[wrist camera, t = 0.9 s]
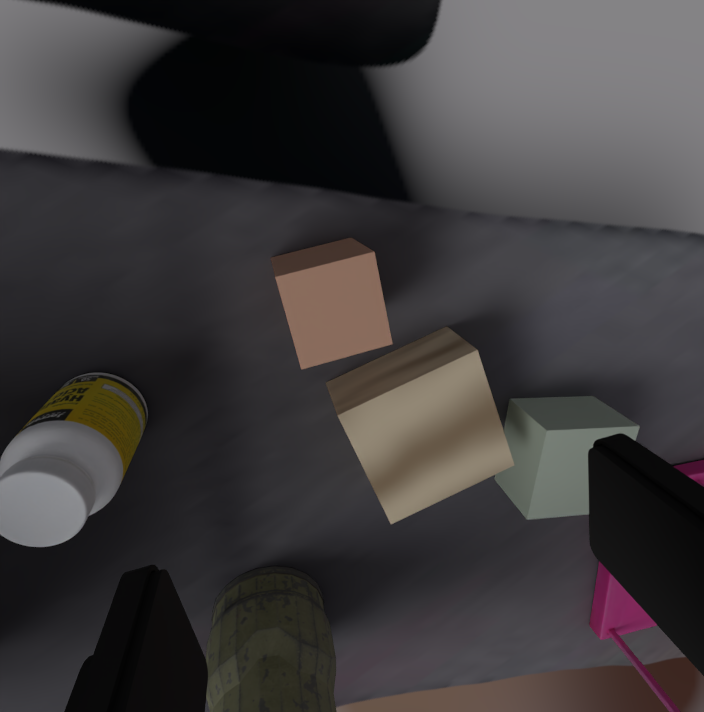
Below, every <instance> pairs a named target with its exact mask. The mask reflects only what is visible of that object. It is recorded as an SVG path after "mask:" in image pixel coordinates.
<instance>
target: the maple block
mask: <svg viewBox="0 0 704 712" xmlns="http://www.w3.org/2000/svg"><path fill="white" fill-rule="evenodd" d="M326 385H327V388H328V391H329V393H330V396H331V399H332V402H333V404H334V407H335V410H336V413H337V415H338V417H339V420H340V422H341V424H342V426H343V428H344V430H345V432H346V434H347V436H348V438H349V440H350V442H351V444H352V446H353V448H354V450H355V452H356V454H357V456H358V458H359V460H360V462H361V464H362V466H363V468H364V470H365V472H366V475H367V477H368V479H369V481H370V483H371V485H372V487H373V489H374V491H375V493H376V495H377V497H378V499H379V501H380V503H381V505H382V507H383V509H384V511H385V513H386V515H387V517H388V519H389V521H390V523H391V524H393V523H395V522H397V521H399V520H401V519H404V518H406V517H408V516H410V515H412V514H414V513H416V512H418V511H420V510H422V509H424V508H426V507H429V506H431V505H433V504H435V503H437V502H439V501H441V500H443V499H445V498H447V497H449V496H451V495H454V494H456V493H458V492H460V491H462V490H464V489H466V488H468V487H470V486H472V485H474V484H477V483H479V482H481V481H483V480H485V479H487V478H489V477H491V476H493V475H495V474H497V473H499V472H502V471H504V470H506V469H508V468H510V467H512V466H514V462H513V458H512V455H511V452H510V449H509V446H508V443H507V440H506V437H505V434H504V431H503V427H502V424H501V421H500V418H499V415H498V412H497V409H496V406H495V403H494V400H493V396H492V393H491V390H490V387H489V384H488V381H487V378H486V375H485V372H484V368H483V365H482V362H481V359H480V356H479V353H478V350H477V349H476V348H474V347H473V346H472V345H471V344H469V343H468V342H467V341H465V340H464V339H463V338H461V337H460V336H459V335H458V334H456V333H455V332H454V331H452V330H451V329H450V328H448V327H447V326H446V327H444V328H442V329H440V330H438V331H436V332H433V333H431V334H429V335H427V336H425V337H423V338H421V339H418V340H416V341H414V342H412V343H410V344H408V345H405V346H403V347H401V348H399V349H397V350H395V351H393V352H390V353H388V354H386V355H384V356H382V357H380V358H378V359H375V360H373V361H371V362H369V363H367V364H365V365H363V366H360V367H358V368H356V369H354V370H352V371H350V372H348V373H345V374H343V375H341V376H339V377H337V378H335V379H332V380H330V381H328V382H326Z"/></svg>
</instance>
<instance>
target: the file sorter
mask: <svg viewBox="0 0 704 712" xmlns="http://www.w3.org/2000/svg"><path fill="white" fill-rule="evenodd" d="M673 467H675V468H676V469H678V470H679V471H681V472H682V473H684V474H685V475H687V476H688V477H690V478H691V479H693V480H694V481H696V482H697V483H699V484H700V485H702V486H703V487H704V460H700V461H695V462H690V463H686V464H681V465H676V466H673ZM656 625H657V624H656V623H655V622H654V621H653V620H652V619H651V617H650V616H649V615H648V614H647V613H646V612H645V611H644V610H643V609H642V608H641V606H640V605H639V604H638V603H637V602H636V601H635V600H634V599H633V598H632V597H631V595H630V594H629V593H628V592H627V591H626V590H625V589H624V588H623V587H622V586H621V585H620V583H619V582H618V581H617V580H616V579H615V578H614V577H613V576H612V575H611V574H610V572H609V571H608V570H607V569H606V568H605V567H604V566H603V565H602V564H601V563H600V561H599V566H598V572H597V578H596V585H595V592H594V599H593V605H592V612H591V618H590V627H591V628H592V629H593V631H594V632H595V633H596V634H597V636H598V637H599V638H600V639H601V640H604V639H607V638H612V639H613V640H614V641H615V643H616V644H617V645H618V647H619V648H620V649H621V650H622V652H623V653H624V654H625V655H626V657H627V658H628V659H629V660H630V662H631V663H632V664H633V665H634V667H635V668H636V669H637V671H638V672H639V673H640V674H641V676H642V677H643V678H644V680H645V681H646V682H647V683H648V685H649V686H650V687H651V688H652V690H653V691H654V692H655V694H656V695H657V696H658V697H659V699H660V700H661V701H662V702H663V704H664V705H665V706H666V707H667V709H668V710H669V711H670V712H680V710H679V709H678V708H677V707H676V705H675V704H674V703H673V702H672V700H671V699H670V698H669V697H668V695H667V694H666V693H665V692H664V690H663V689H662V688H661V687H660V685H659V684H658V683H657V682H656V681H655V679H654V678H653V677H652V675H651V674H650V673H649V672H648V671H647V669H646V668H645V667H644V666H643V664H642V663H641V662H640V661H639V660H638V658H637V657H636V656H635V655H634V654H633V652H632V651H631V650H630V649H629V647H628V646H627V645H626V644H625V642H624V641H623V640H622V639H621V638H620V636H619V635H623V634H626V633H630V632H634V631H637V630H641V629H645V628H649V627H653V626H656Z"/></svg>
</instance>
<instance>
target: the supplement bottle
mask: <svg viewBox="0 0 704 712" xmlns="http://www.w3.org/2000/svg"><path fill="white" fill-rule="evenodd" d="M147 419H148V410H147V405H146V402H145V400H144V398H143V396H142V395H141V393H140V392H139V391H138V389H137V388H136V387H135V386H133V385H132V384H131V383H129V382H128V381H126V380H125V379H123V378H120V377H118V376H115V375H112V374H108V373H87V374H83V375H80V376H77V377H75V378H73V379H71V380H70V381H68V382H67V383H65V384H64V385H63V386H62V387H61V388H60V389H59V390H58V391H57V392H56V393H55V394H54V395H53V396H52V397H51V398H50V399H49V400H48V401H47V403H46V404H45V405H44V406H43V407H42V408H41V409H40V410H39V411H38V412H37V413H36V414H35V415H34V416H33V417H32V418H31V419H30V421H29V422H28V423H27V424H26V425H25V426H24V427H23V429H22V430H21V431H20V432H19V433H18V434H17V435H16V436H15V437H14V438H13V440H12V441H11V442H10V443H9V445H8V446H7V447H6V449H5V450H4V452H3V454H2V456H1V459H0V535H2V536H3V537H5V538H6V539H8V540H10V541H12V542H15V543H17V544H20V545H24V546H30V547H47V546H53V545H57V544H60V543H63V542H65V541H67V540H69V539H70V538H72V537H73V536H75V535H76V534H77V533H78V532H79V531H80V530H81V529H82V527H83V526H84V524H85V522H86V520H87V518H88V516H90V515H92V514H94V513H96V512H97V511H99V510H100V509H102V508H103V507H104V506H105V505H107V504H108V503H109V502H110V500H111V499H112V498H113V497H114V495H115V494H116V492H117V490H118V488H119V486H120V484H121V482H122V480H123V478H124V475H125V473H126V471H127V469H128V466H129V464H130V462H131V460H132V457H133V455H134V453H135V450H136V448H137V446H138V444H139V442H140V439H141V437H142V435H143V432H144V430H145V427H146V424H147Z"/></svg>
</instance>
